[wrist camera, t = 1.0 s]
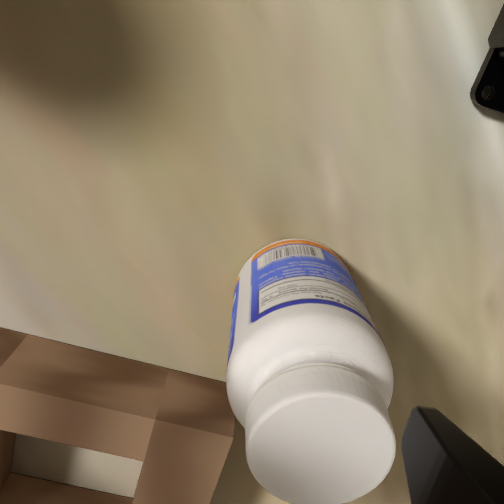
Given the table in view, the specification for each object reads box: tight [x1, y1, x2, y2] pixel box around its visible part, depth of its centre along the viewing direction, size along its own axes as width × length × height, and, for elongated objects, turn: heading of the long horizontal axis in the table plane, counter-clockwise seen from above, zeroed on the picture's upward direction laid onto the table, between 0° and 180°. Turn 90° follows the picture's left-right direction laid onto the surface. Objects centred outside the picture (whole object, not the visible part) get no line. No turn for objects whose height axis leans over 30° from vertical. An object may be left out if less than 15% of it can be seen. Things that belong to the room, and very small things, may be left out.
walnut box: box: [0, 328, 235, 504], centre depth 23 cm, size 14×12×4 cm
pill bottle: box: [226, 238, 396, 504], centre depth 16 cm, size 5×5×10 cm
